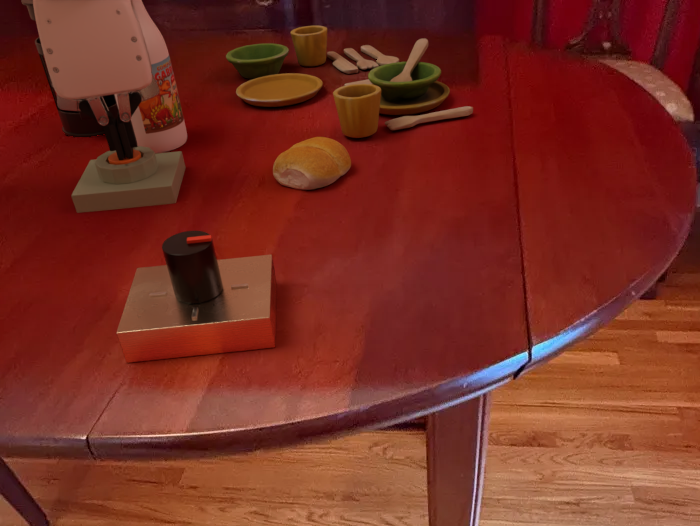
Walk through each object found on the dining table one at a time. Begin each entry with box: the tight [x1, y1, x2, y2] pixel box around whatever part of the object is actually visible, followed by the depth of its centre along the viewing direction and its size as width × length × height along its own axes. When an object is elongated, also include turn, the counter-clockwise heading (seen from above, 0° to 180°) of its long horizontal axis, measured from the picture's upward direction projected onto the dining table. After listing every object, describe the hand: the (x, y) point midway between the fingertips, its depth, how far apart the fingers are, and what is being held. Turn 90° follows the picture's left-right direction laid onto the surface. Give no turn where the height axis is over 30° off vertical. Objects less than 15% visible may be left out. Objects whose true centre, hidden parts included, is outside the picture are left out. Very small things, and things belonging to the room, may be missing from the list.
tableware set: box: [225, 25, 474, 139], centre depth 105 cm, size 41×28×6 cm
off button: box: [108, 150, 142, 165], centre depth 82 cm, size 4×4×2 cm
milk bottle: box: [114, 0, 188, 154], centre depth 89 cm, size 8×8×20 cm
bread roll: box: [272, 136, 352, 191], centre depth 83 cm, size 8×9×4 cm
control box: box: [70, 146, 186, 214], centre depth 83 cm, size 11×10×4 cm
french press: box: [20, 0, 118, 138], centre depth 95 cm, size 12×9×23 cm
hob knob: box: [161, 230, 223, 303], centre depth 59 cm, size 4×4×5 cm
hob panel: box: [115, 254, 278, 364], centre depth 61 cm, size 12×10×3 cm
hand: (126, 154), depth 82 cm, fingers closed
